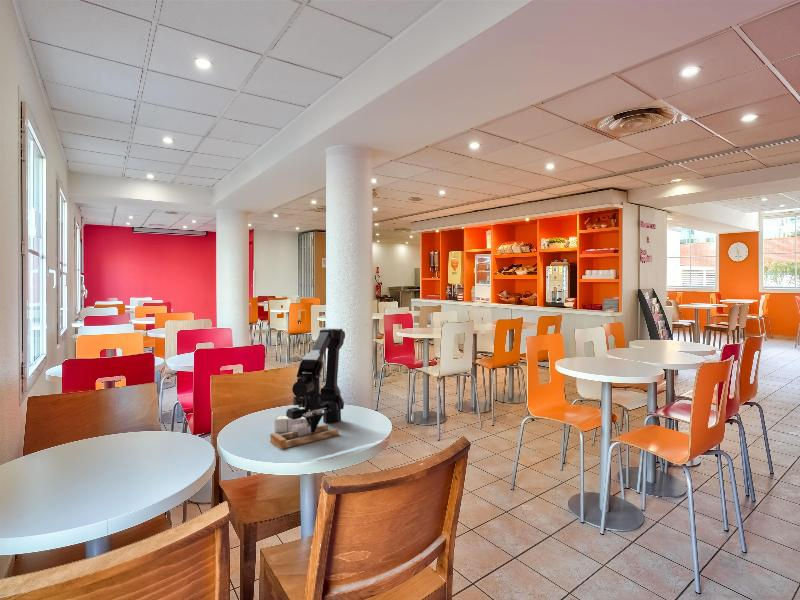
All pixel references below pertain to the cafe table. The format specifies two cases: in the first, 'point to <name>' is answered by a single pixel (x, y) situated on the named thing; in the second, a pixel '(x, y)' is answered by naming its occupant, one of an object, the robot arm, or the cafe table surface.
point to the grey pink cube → (300, 430)
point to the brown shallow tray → (284, 443)
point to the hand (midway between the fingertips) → (313, 432)
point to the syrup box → (287, 423)
